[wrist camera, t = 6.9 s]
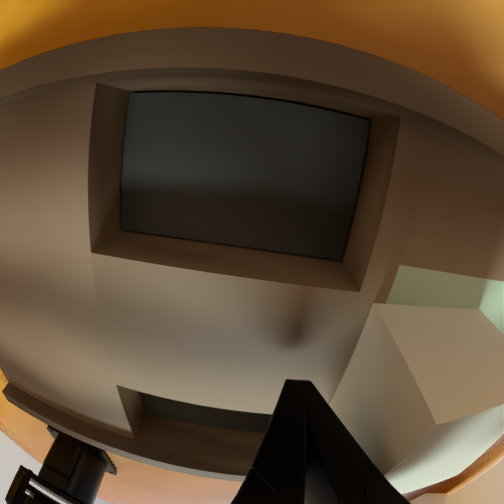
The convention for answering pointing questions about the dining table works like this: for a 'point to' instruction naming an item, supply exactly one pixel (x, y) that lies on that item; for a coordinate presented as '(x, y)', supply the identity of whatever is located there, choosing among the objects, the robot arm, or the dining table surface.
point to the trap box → (225, 229)
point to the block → (423, 391)
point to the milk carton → (431, 499)
